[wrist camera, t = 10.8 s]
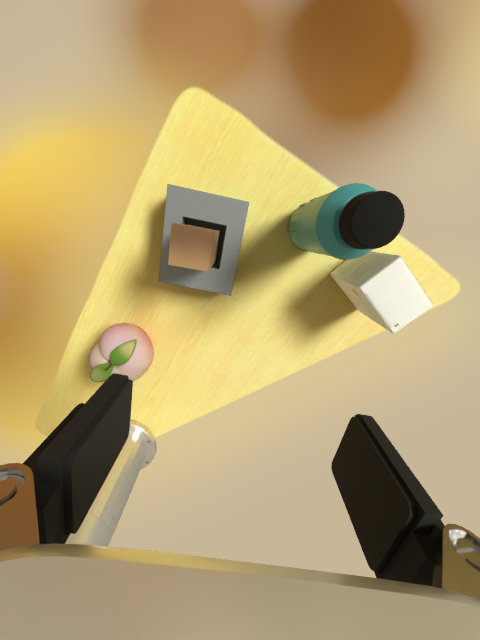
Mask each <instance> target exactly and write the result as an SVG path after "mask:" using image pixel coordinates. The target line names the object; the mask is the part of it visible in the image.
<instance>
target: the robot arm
mask: <svg viewBox="0 0 480 640" xmlns="http://www.w3.org/2000/svg"><path fill="white" fill-rule="evenodd" d="M132 385H133V381H132V380H129V377H128V376H127V375H122V374H116V373H113V374H112V375H111V376H110V377H109V378H108V379H107V380H106V381H105V382H104V383H103V384H102V386H101V387H100V388H99V389H98V390H97V391H96V392H95V393H94V395H93V396H92V397H91V398H90V399H89V400H88V401H87V402H86V404H83V403H81V404H79V405H77V406H76V407H75V408H74V409H73V410H72V411H71V413H70V414H69V415H68V416H67V417H66V418H65V419H64V420H63V421H62V422H61V423H60V424H59V425H58V426H57V428H56V429H55V430H54V431H53V432H52V433H51V434H50V435H49V436H48V437H47V438H46V439H45V440H44V442H43V443H42V444H41V445H40V446H39V447H38V448H37V449H36V450H35V451H34V452H33V453H32V455H30V457H29V458H28V459H27V460H26V461H25V462H24V463H23V464H20V463H11V464H10V463H9V464H5V465H0V640H480V538H478V537H477V536H476V535H475V534H473V533H472V532H470V531H469V530H467V529H465V528H463V527H461V526H458V525H456V524H447V525H445V526H444V524H443V523H442V521H441V518H442V517H443V515H442V513H441V512H440V510H439V509H438V508H437V506H436V505H435V503H434V502H433V501H432V499H431V498H430V496H429V495H428V494H427V492H426V491H425V489H424V488H423V487H422V485H421V484H420V482H419V481H418V480H417V478H416V477H415V476H414V474H413V473H412V471H411V470H410V469H409V467H408V466H407V465H406V463H405V462H404V460H403V459H402V457H401V456H400V455H399V453H398V452H397V450H396V449H395V448H394V446H393V445H392V443H391V442H390V441H389V439H388V438H387V437H386V435H385V434H384V432H383V431H382V430H381V428H380V427H379V425H378V424H377V423H376V421H375V420H374V418H372V417H371V416H367V415H361V414H357V415H355V417H352V418H351V420H350V422H349V424H348V426H347V429H346V431H345V433H344V436H343V438H342V440H341V443H340V445H339V448H338V450H337V452H336V454H335V457H334V459H333V461H332V472H333V475H334V478H335V480H336V483H337V485H338V488H339V490H340V493H341V495H342V498H343V501H344V503H345V506H346V509H347V511H348V514H349V516H350V519H351V522H352V524H353V526H354V529H355V532H356V535H357V537H358V539H359V542H360V545H361V547H362V550H363V552H364V555H365V557H366V560H367V563H368V565H369V567H370V568H371V569H372V570H373V571H374V572H375V575H376V577H377V578H370V577H362V576H354V575H346V574H338V573H331V572H323V571H315V570H307V569H299V568H291V567H283V566H275V565H266V564H258V563H250V562H241V561H233V560H225V559H216V558H207V557H199V556H190V555H182V554H173V553H164V552H155V551H146V550H137V549H127V548H115V547H108V545H109V543H110V541H111V538H112V536H113V534H114V531H115V529H116V527H117V524H118V522H119V519H120V517H121V515H122V512H123V510H124V507H125V505H126V503H127V500H128V498H129V495H130V493H131V491H132V488H133V486H134V483H135V481H136V479H137V476H138V474H139V471H140V469H142V468H145V467H146V466H147V465H149V464H150V463H151V461H152V460H153V458H154V456H155V453H156V441H155V439H154V437H153V435H152V434H151V432H150V431H149V430H148V429H147V428H145V427H144V426H143V425H141V424H139V423H137V422H134V421H132V420H130V415H131V400H132Z"/></svg>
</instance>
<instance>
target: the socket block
mask: <svg viewBox="0 0 480 640" xmlns="http://www.w3.org/2000/svg"><path fill="white" fill-rule="evenodd" d="M248 206H249V202H246V201H242V200H237V199H233V198H228V197H224V196H219V195H215V194H210V193H206V192H201V191H197V190H192V189H188V188H183V187H179V186H174V185H170V184H168V186H167V196H166V207H165V218H164V229H163V239H162V250H161V261H160V272H159V282H163V283H169V284H174V285H179V286H184V287H189V288H194V289H199V290H204V291H210V292H215V293H220V294H225V295H230V296H231V293H232V288H233V283H234V278H235V273H236V268H237V262H238V257H239V252H240V247H241V242H242V237H243V232H244V226H245V221H246V216H247V211H248ZM172 223H177V224H185V225H193V226H198V227H204V228H209V229H214V230H219V231H221V237H220V244H219V251H218V257H217V260H216V261H215V263H214V264H213V265H212V266H211V268H210V269H209V270H208V271H201V270H196V269H190V268H184V267H179V266H173V265H168V260H169V248H170V236H171V224H172Z"/></svg>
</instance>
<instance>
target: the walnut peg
mask: <svg viewBox="0 0 480 640" xmlns="http://www.w3.org/2000/svg"><path fill="white" fill-rule="evenodd" d="M220 237H221V231H219V230H214V229H209V228H204V227H198V226H193V225H185V224H177V223H172V224H171V236H170V248H169V260H168V265H173V266H179V267H184V268H190V269H196V270H201V271H208V270H209V269H210V268H211V266H212V265H213V264H214V263H215V261H216V260H217V257H218V251H219V244H220Z"/></svg>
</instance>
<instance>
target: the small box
mask: <svg viewBox="0 0 480 640" xmlns="http://www.w3.org/2000/svg"><path fill="white" fill-rule="evenodd" d="M330 275H331V276H332V277H333V279H334V280H335V281H336V283H337V284H338V285H339V286H340V288H341V289H342V290H343V292H344V293H345V294H346V295H347V297H348V298H349V299H350V301H351V302H352V303H353V304H354V306H355V307H356V308H357V310H359V311H360V312H362V313H363V314H364V315H366V316H367V317H369V318H370V319H372V320H373V321H375V322H376V323H378V324H379V325H381V326H382V327H384V328H385V329H387V330H388V331H390V332H391V333H395V332H397V331H398V330H400V329H401V328H402V327H404V326H405V325H407V324H408V323H410V322H411V321H413V320H414V319H415V318H417V317H418V316H420V315H421V314H423V313H424V312H426V311H427V310H428V309H430V308H431V307H433V304H432V302H431V301H430V299H429V298H428V296H427V295H426V293H425V292H424V290H423V289H422V287H421V286H420V284H419V283H418V281H417V280H416V278H415V277H414V275H413V274H412V272H411V271H410V269H409V268H408V266H407V265H406V263H405V262H404V260H403V259H402V257H401V256H398V255H390V254H384V253H377V252H369V253H367V254H366V255H364V256H362V257H359V258H356V259H351V260H346V261H345V262H343V263H342V264H341V265H340V266H339V267H337V268H336V269H335V270H334V271H332V272H331V273H330Z"/></svg>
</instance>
